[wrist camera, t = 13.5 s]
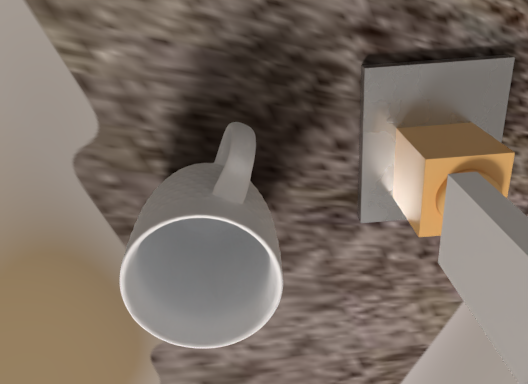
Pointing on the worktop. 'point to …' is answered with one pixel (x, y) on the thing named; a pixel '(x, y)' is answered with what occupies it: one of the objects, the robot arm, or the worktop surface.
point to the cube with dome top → (443, 168)
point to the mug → (205, 252)
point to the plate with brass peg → (422, 114)
